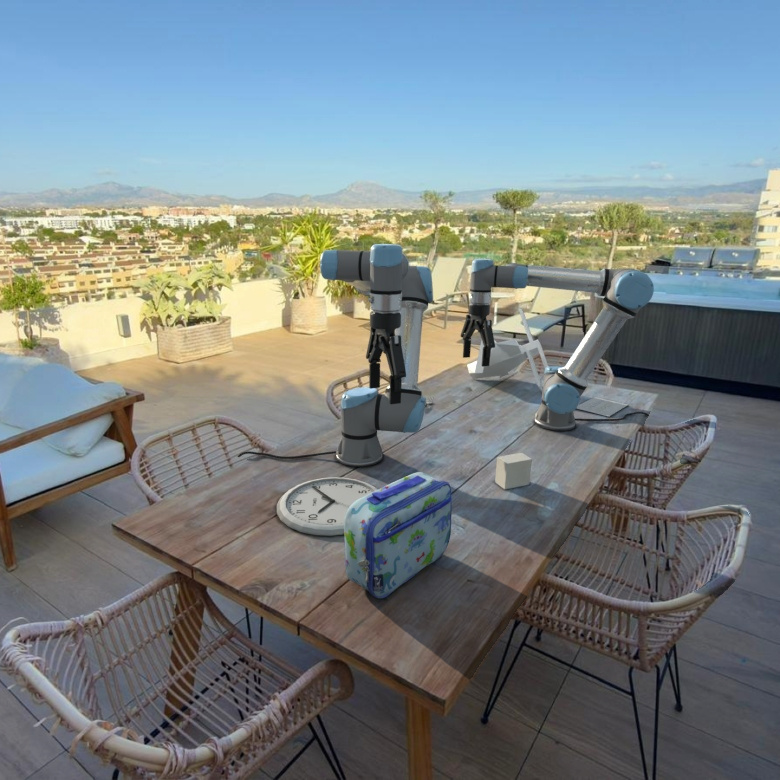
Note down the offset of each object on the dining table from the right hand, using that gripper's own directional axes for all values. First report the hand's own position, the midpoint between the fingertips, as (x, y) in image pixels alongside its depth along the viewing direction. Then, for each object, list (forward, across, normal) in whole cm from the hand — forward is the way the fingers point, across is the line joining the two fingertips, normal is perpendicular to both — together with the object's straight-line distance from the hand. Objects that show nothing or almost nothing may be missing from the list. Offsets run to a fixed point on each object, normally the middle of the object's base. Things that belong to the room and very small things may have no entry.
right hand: (475, 361), depth 192 cm
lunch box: (+26, +71, -59) cm, 96 cm away
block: (+26, +44, -11) cm, 52 cm away
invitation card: (+26, -3, +66) cm, 71 cm away
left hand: (-6, +45, -53) cm, 70 cm away
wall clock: (+26, +38, -66) cm, 80 cm away
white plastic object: (+26, -43, +45) cm, 67 cm away
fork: (+26, -28, -6) cm, 39 cm away
